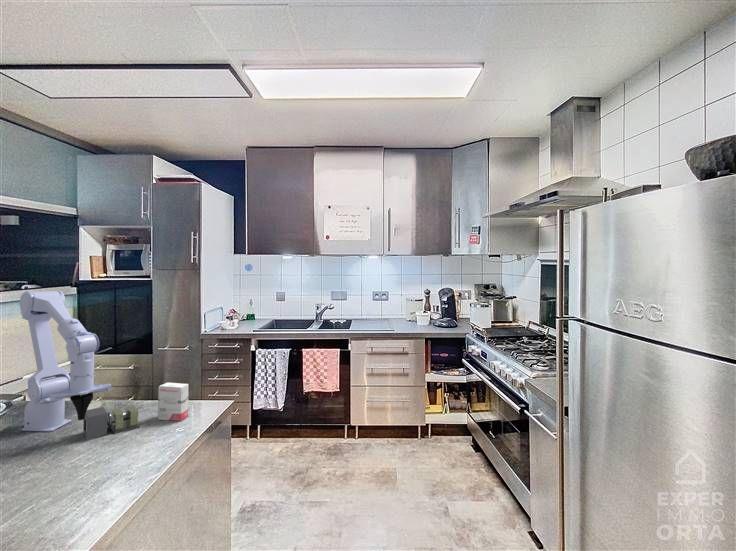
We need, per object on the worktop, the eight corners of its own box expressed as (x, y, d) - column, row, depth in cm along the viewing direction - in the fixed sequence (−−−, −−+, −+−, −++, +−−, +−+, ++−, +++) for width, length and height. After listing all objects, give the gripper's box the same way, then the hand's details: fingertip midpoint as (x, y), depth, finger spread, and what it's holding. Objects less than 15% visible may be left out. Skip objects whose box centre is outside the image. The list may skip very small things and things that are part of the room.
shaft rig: (90, 440, 108) (90, 420, 108) (85, 431, 113) (86, 412, 113) (140, 427, 117) (140, 409, 117) (133, 419, 123) (134, 402, 123)
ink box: (189, 416, 128) (190, 383, 127) (180, 421, 123) (181, 387, 122) (166, 414, 128) (167, 381, 128) (156, 419, 124) (157, 385, 123)
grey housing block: (86, 439, 108) (87, 417, 108) (82, 432, 112) (83, 410, 112) (106, 434, 111) (107, 413, 111) (102, 427, 116) (103, 406, 116)
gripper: (51, 382, 101) (50, 430, 101) (113, 373, 112) (112, 416, 112) (49, 376, 106) (48, 422, 106) (109, 368, 116) (107, 409, 117)
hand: (81, 418), depth 109 cm, fingers closed
